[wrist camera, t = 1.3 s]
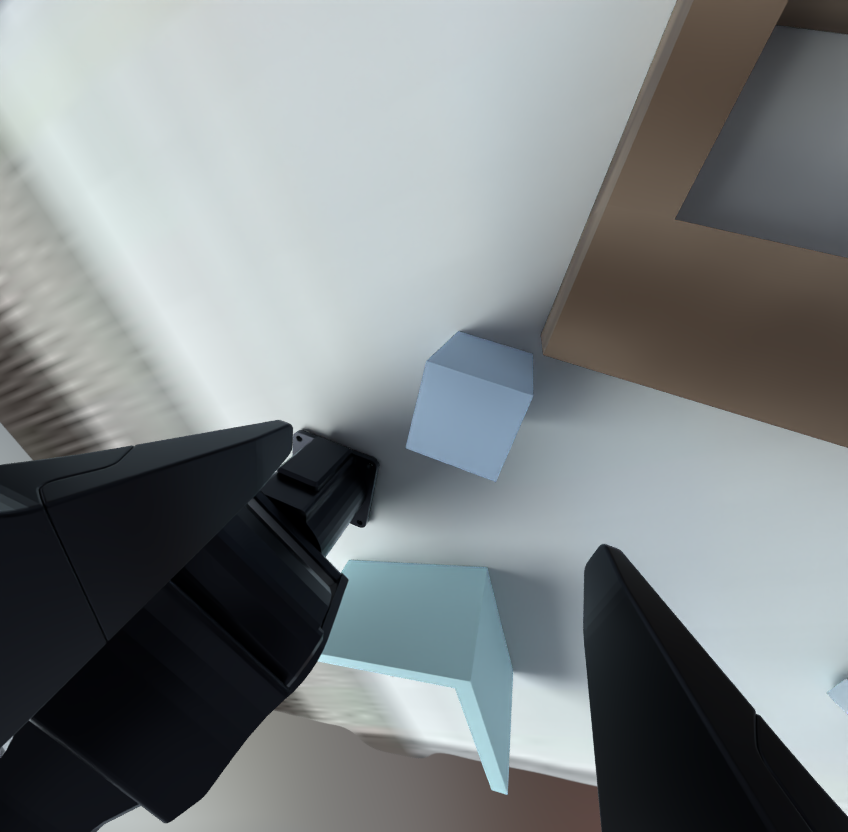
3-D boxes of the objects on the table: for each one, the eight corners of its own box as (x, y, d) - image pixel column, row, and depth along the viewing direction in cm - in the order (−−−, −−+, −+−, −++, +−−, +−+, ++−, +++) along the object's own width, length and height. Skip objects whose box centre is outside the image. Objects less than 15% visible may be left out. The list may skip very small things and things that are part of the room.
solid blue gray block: (506, 420, 18) (495, 482, 13) (439, 397, 19) (405, 448, 14) (532, 353, 16) (533, 395, 11) (458, 331, 17) (426, 361, 12)
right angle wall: (349, 559, 28) (294, 649, 21) (487, 566, 24) (470, 681, 17) (389, 649, 32) (353, 748, 26) (513, 669, 28) (507, 794, 21)
